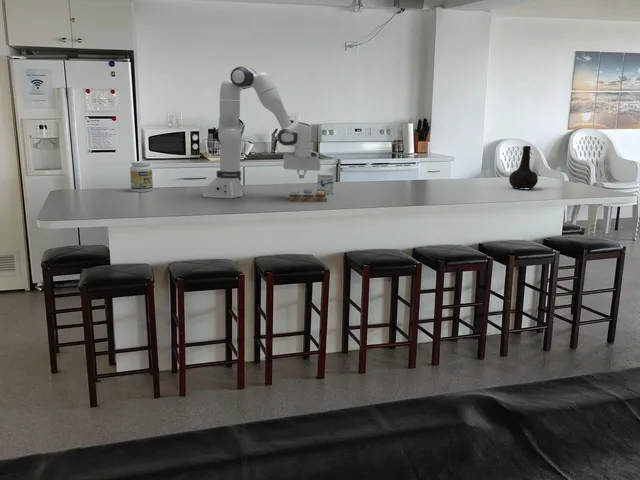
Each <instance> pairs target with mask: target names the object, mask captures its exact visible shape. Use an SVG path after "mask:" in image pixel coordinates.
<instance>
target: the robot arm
mask: <svg viewBox="0 0 640 480" xmlns="http://www.w3.org/2000/svg"><path fill="white" fill-rule="evenodd" d="M249 88H252V89H254V91H255V93H256V96H257V97H258V99H259V101H260V103H261V104H262V106H263V107H264V108H265V109H266V110H268V111H269V112H271V113H272V114H273V115H274V116H275V118H276V120H277V122H278V125H279V126H280V127H281V129H280V130H279V131H278V133H277V141H278V143H279V144H280V145H283V146H286V147H289V146H294V152H288V151H286V152H285V153H284V154H283V156H282V159H283V169H284V170H290V171H291V170H293V171H295V170H296V172H297V174H298V179H305V175H306V174H307V171H313V172H314V171H316V172H317V171H318V172H319V171H320V170H321V160H320V158H319V156H320V155H319V153H318V152H317V151H314V150H311V149H312V147H311V146H312V145H311V142H312V127H311V125H310V124H308V123H306V122H300V121H297V122H296V123H295V124H293V123H292V120H291V119H290V117H289V115H288V113H287V111H286V109H285V107H284V104H283V100H282V98H281V95H280V93H279V90H278V88H277V86H276V84H275V82H274V80H273V79H272V77H271V76H270V75H269V73H268V72H266V71H259V72H256V70H254V69H253V68H251V67H249V66H236V67H235V68H233V69H232V71H231V73H230V78H227V79H224V80H223V81H222V82H221V85H220V89H219V119H218V130H217V131H218V134H217V137H218V140H219V141H220V154H219V167H220V168H219V170H216V171H215V172H216V178H214V179H213V180H212V181H211V182H209V183H208V184H207V188H206V192H203V194H202V196H203V198H216V199H218V198H219V199H232V198H238V197H239V198H240V197H241V198H242V197H243V196H244V194H243V189H242V184H241V183H242V181H241V180H242V171H241V150H242V132H241V131H240V129H239V125H240V124H239V122H240V116H241V92H242V90H246V89H249ZM301 171H303V174H300V172H301Z"/></svg>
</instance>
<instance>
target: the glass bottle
mask: <svg viewBox="0 0 640 480" xmlns="http://www.w3.org/2000/svg"><path fill="white" fill-rule="evenodd" d="M531 151H532V148H531V145H524V146H523V147H522V155H521V159H520V164H519V167H518V168H516V170H514V171H512V172H511V173H510V175H509V177H508V181H509V185H510V186H511V187H512V188H513V187H517V188H532V189H533V188H534V187H536V185H537V184H538V181H539V178H538V177H539V176H538V175H537V173H536V172H534V171H532V169H531V166H530V160H531V159H530V158H531Z"/></svg>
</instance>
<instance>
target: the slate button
mask: <svg viewBox="0 0 640 480" xmlns="http://www.w3.org/2000/svg"><path fill="white" fill-rule="evenodd" d="M312 190H313V189H310V188H304V189H303V194H307V195H312V192H313V191H312Z"/></svg>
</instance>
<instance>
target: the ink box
mask: <svg viewBox="0 0 640 480" xmlns="http://www.w3.org/2000/svg"><path fill="white" fill-rule="evenodd" d="M316 189H317V190H316V191H324V195H333V194H334V174H333V173H325V172H324V173H323V172H322V173H317V187H316Z"/></svg>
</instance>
